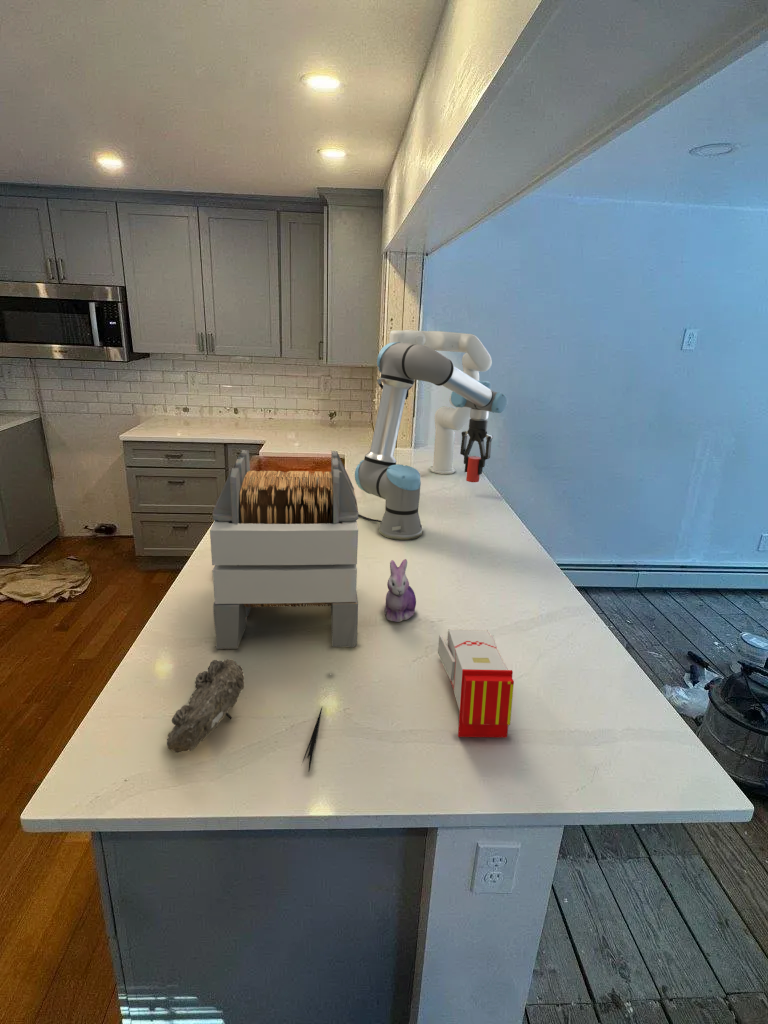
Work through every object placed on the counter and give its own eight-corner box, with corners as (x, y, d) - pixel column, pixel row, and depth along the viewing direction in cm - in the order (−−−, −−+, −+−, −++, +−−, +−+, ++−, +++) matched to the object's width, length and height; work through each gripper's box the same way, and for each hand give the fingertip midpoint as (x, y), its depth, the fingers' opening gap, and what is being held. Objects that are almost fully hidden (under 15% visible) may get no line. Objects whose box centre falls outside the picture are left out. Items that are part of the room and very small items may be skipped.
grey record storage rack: (234, 582, 160) (226, 440, 146) (350, 581, 163) (353, 443, 150) (213, 651, 128) (201, 478, 114) (357, 647, 132) (363, 480, 118)
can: (479, 482, 241) (482, 459, 238) (467, 482, 241) (469, 458, 238) (477, 479, 247) (480, 456, 243) (465, 478, 246) (467, 455, 243)
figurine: (392, 627, 141) (395, 572, 136) (374, 608, 149) (376, 556, 144) (425, 619, 145) (429, 566, 140) (405, 601, 154) (408, 550, 149)
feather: (331, 679, 122) (336, 673, 122) (307, 777, 96) (313, 769, 95) (324, 675, 122) (329, 669, 121) (298, 772, 95) (304, 764, 95)
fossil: (192, 660, 117) (244, 628, 112) (224, 691, 120) (276, 661, 115) (142, 746, 98) (202, 712, 93) (182, 779, 101) (242, 748, 96)
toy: (488, 613, 130) (523, 677, 101) (484, 667, 133) (517, 744, 104) (435, 612, 130) (455, 676, 101) (432, 666, 133) (451, 743, 103)
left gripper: (503, 420, 233) (496, 475, 241) (462, 414, 243) (457, 467, 250) (495, 423, 227) (489, 478, 235) (454, 417, 237) (449, 470, 245)
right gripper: (380, 360, 244) (378, 400, 250) (418, 361, 248) (415, 400, 254) (376, 358, 251) (374, 397, 257) (413, 359, 255) (411, 397, 261)
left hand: (473, 472), depth 243 cm, fingers closed on can, 5 cm apart
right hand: (395, 398), depth 255 cm, fingers open, 9 cm apart
